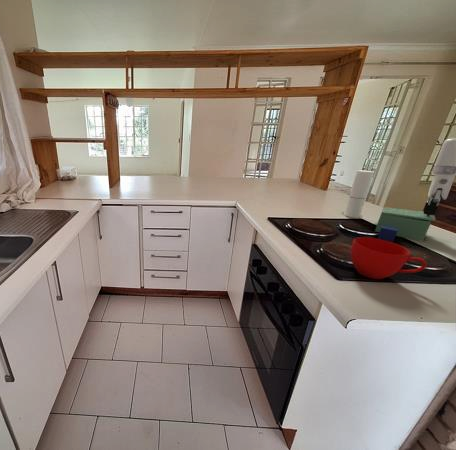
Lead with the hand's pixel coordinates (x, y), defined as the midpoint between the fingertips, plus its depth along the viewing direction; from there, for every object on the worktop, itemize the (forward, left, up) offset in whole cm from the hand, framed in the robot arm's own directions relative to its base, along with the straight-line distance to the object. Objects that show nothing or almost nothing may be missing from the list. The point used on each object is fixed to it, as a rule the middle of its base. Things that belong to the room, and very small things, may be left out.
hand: (428, 212), depth 102 cm
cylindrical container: (+31, -1, -12) cm, 33 cm away
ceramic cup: (-20, +54, -12) cm, 59 cm away
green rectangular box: (+6, +3, -11) cm, 13 cm away
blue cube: (+2, +17, -11) cm, 21 cm away
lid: (+5, +3, -2) cm, 6 cm away
